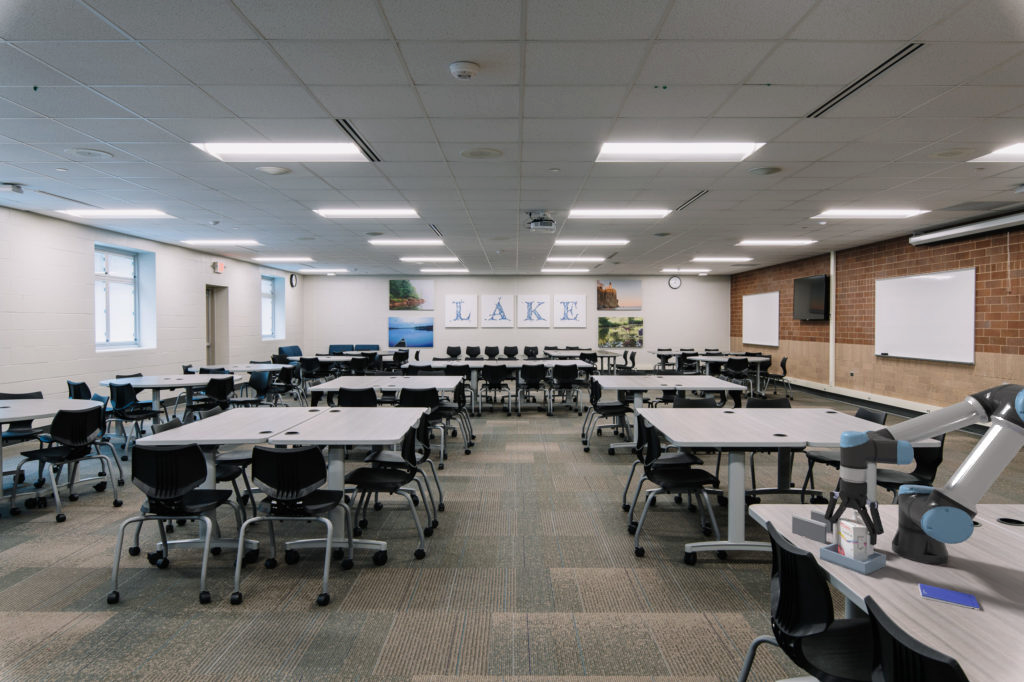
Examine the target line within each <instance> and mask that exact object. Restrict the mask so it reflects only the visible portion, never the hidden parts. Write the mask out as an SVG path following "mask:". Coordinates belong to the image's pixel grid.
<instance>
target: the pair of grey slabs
mask: <svg viewBox="0 0 1024 682" xmlns="http://www.w3.org/2000/svg"><path fill="white" fill-rule="evenodd" d="M825 513H826V511H821V510H820V509H819V510H818V509H815V508H811V509H810V518H808V517H805V516H802V515H798V514H797V513H793V514H792V515H791V516H792V517H791V518H792V520H791V526H792V527H791V533H792V534H795V535H798V536H801V537H803V536H805V537H804V538H806V537H807V539H810V540H813V541H815V542H818V543H822V544H827V535H828V534H827V533H829V534H832V535H833V532H831V523H830V521H829V520H827V519H825V518H824V517H825ZM840 518H844V517H842V516H841V517H840ZM837 522H838V521H837Z"/></svg>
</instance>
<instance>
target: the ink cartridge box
mask: <svg viewBox="0 0 1024 682" xmlns="http://www.w3.org/2000/svg"><path fill="white" fill-rule="evenodd" d="M868 533H869V531H868V529H867V527H866V525H865V523H864V521H863V519H862V517H861V515H860V514H859V513H858V511H857V510H854V509H851V518H850V517H849V518H848V517H846V518H845V517H843V518H838V553H839V554H841V555H844V556H847V557H850V558H852V559H855V560H858V561H861V562H866V561H868V555H866V550H867V534H868Z"/></svg>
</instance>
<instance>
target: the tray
mask: <svg viewBox="0 0 1024 682" xmlns="http://www.w3.org/2000/svg"><path fill="white" fill-rule="evenodd" d="M819 559H820V560H822V561H826V562H828V563H831V564H833V565H835V566H836V565H837V566H838V565H839V567H841V566H842V567H841V568H844V569H847V570H849V569H850V570H849V571H852V572H855V573H857V572H858V573H857V574H860V573H861V575H863V576H866V575H870V573H871V574H872V573H873V571H874V572H877V570H880V568H881V569H882V567H883V568H885V567H887V555H886V554H883V553H880V552H877V551H874V553H873V554H871V555H868V561H866V562H861V561H858V560H855V559H852V558H850V557H847V556H844V555H841V554H839V553H838V543H837V544H834V543H833V542H832V543H830V544H827V545H825V546H822V547H819ZM884 566H885V567H884Z"/></svg>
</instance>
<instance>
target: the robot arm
mask: <svg viewBox="0 0 1024 682" xmlns="http://www.w3.org/2000/svg"><path fill="white" fill-rule="evenodd" d="M991 422H992V424H991V425H990V427H989V428H988V429H987V430H986V432H985V433H984V435H983V436H982V437H981V438H980V440H979V441H978V442H977V444H975V446H974V447H973V449H972V450H971V451H970V453H969V454H968V455H967V457H966V458H965V459H964V461H963V462H962V463H961V464H960V465H959V467H958V468H957V469H956V470H955V472H954V473H953V474H952V476H951V477H950V479H949V480H948V481H947V482H946V483H945V485H944V486H941V487H940V486H939V487H935V486H928V485H918V484H902V485H900V486H899V488H898V489H899V490H898V493H897V496H898V505H897V506H898V508H897V509H898V511H897V512H898V514H897V515H898V518H897V519H898V521H897V523H898V526H897V527H898V528H897V529H896V532H895V535H894V536H893V538H892V542H891V550H892V551H893V553H895V554H896V555H899V556H900V557H903V558H905V559H908V560H912V561H914V562H915V561H916V562H919V563H924V564H932V565H938V564H939V565H940V564H941V565H942V564H946V563H948V562H949V551H948V549H947V546H946V544H947V545H955V544H961V543H963V542H965V541H967V540H969V538H971V536H972V535H973V532H975V531H974V530H975V529H974V528H975V526H974V522H973V520H974V518H975V517H976V516H977V515H978V513H979V511H978V509H977V504H978V503H979V501H980V500H981V499H982V498H983V497H984V496H985V494H986V493H987V492H988V490H989V489H990V488H991V487H992V485H993V484H994V483H995V482H996V481H997V479H998V478H999V476H1000V475H1001V474H1002V473H1003V471H1004V470H1005V469H1006V468H1007V467H1008V465H1009V464H1010V463H1011V462H1012V460H1013V459H1014V457H1015V456H1016V455H1017V454H1018V452H1019V451H1020V450H1021V449H1022V448H1023V446H1024V385H1021V384H1015V383H1008V384H1007V383H1006V384H1005V383H1004V384H1001V385H995V386H993V387H990V388H986V389H984V390H981V391H979V392H975V393H973V394H969V395H966V396H965V398H964V400H963V401H960V402H956V403H954V404H951V405H948V406H945V407H942V408H940V409H936V410H933V411H931V412H930V411H929V412H928V413H925V414H921V415H919V416H916V417H914V418H910V419H907V420H905V421H901V422H899V423H895V424H893V425H890V426H887V427H883V428H882V429H878V430H875V431H874V430H865V431H855V430H846V431H843V432H841V434H840V440H839V441H840V443H839V447H840V448H839V450H840V451H839V457H840V462H839V463H840V464H839V477H840V479H839V491H837V490H833V491H830V492H829V501H828V504H827V508H826V510H825V512H826V513H825V517H824V518H825V519H827V520H829V521H830V523H831V532H833V534H832V544H833V543H834V544H837V543H838V522H837V521H838V518H840V517H842V516H843V514H844V513H845V511H846V510H847V508H848V509H851V510H854V511H856V512H858V513H859V514H860V515H861V517H862V518H861V517H860V518H861V520H862V519H863V521H864V523H865V525H866V527H867V529H868V534H867V550H866V555H871V554H873V553H874V550H875V549H874V546H875V545H877V543H878V541H877V540H878V539H877V537H878V536H880V535H883V534H884V533H885V531H884V528H883V524H882V520H881V516H880V513H879V501H878V500H875V501H873V500H870V499H869V498H868V482H867V481H868V467H869V466H868V465H869V463H871V464H873V463H874V464H885V465H886V464H887V465H897V466H899V465H900V466H903V465H907V466H908V465H911V464H912V462H913V461H914V457H915V456H914V455H915V454H914V448H913V445H914V444H916V443H920V442H923V441H925V440H928V439H931V438H934V437H938V436H941V435H943V434H946V433H950V432H953V431H956V430H958V429H962V428H965V427H968V426H971V425H975V424H977V423H980V424H982V425H983V424H984V425H985V424H989V423H991ZM838 499H840V500H841V502H840V504H839V505H838V508H837V509H836V507H837V503H838ZM866 505H868V507H867V506H866ZM868 508H869V512H870V514H869V512H868ZM835 509H836V511H835Z"/></svg>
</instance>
